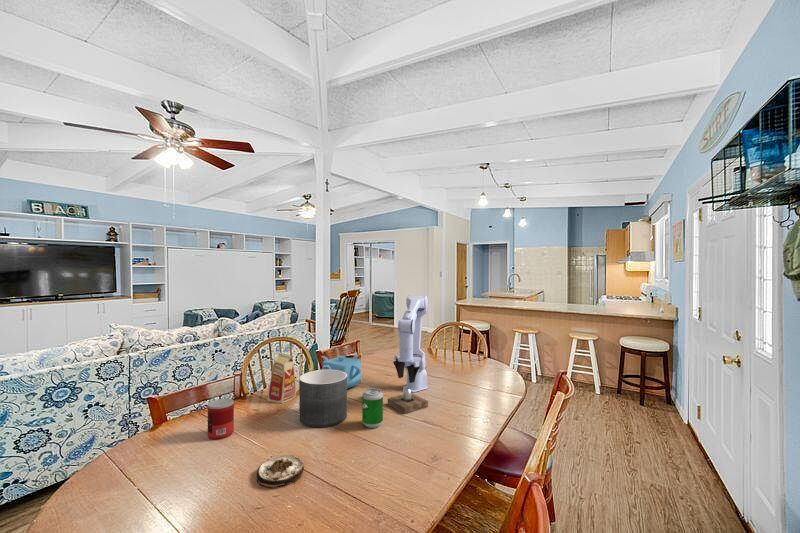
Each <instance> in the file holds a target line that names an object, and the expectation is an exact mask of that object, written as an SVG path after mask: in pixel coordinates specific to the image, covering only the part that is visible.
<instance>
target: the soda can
mask: <svg viewBox="0 0 800 533" xmlns="http://www.w3.org/2000/svg"><path fill="white" fill-rule="evenodd" d="M367 389H368V388H367ZM367 389H366V390H365V391H364V392H363V393H362V398H361V399H362V403H361V404H362V406H361V407H362V410H361V411H362V412H361V414H362V415H361V416H362V417H361V418H362V419H361V420H362V422H361V423H362V424H363V425H364V426H365V427H366V428H368V429H375V428H378V427H380V426H381V425H382V424H383V422H384V396H383V395H384V393H383V392H381V390H380V389H378V388H374V389H368V390H367Z"/></svg>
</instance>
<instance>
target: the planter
mask: <svg viewBox="0 0 800 533" xmlns="http://www.w3.org/2000/svg"><path fill="white" fill-rule="evenodd" d="M298 383H299V384H298V385H299V388H298V389H299V394H298V395H299V400H298V401H299V402H298V403H299V409H298V410H299V418H298V420H299V422H300V424H302V425H303V426H305V427H307V428H308V427H309V428H316V429H317V428H319V429H320V428H328V427H334V426H336V425H339V424H340V423H343V422H345V420H346V419H347V417H348V410H347V409H348V389H347V374H346V373H345V372H342V371H338V370H322V369H317V370H312V371H308V372H306V373H303V374H301V375H300V376H299V382H298Z"/></svg>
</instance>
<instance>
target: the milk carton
mask: <svg viewBox="0 0 800 533" xmlns="http://www.w3.org/2000/svg"><path fill="white" fill-rule="evenodd" d="M277 353H278V355H277V356H276V358H275V359H274V361H273V366H272V369H271V375H270V381H269V387H268V394H267V400H266V401H267V402H271V403H279V404H284V403H286V402H290V401H293V400H294V399H295V397H296V396H297V392H296V391H297V390H296V389H297V387H296V377H295V376H296V374H295V367H294V366H295V364H294V360H293V358H294V356H290V355H286V354H285V353H282V352H280V351H278V352H277Z"/></svg>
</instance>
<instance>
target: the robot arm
mask: <svg viewBox="0 0 800 533" xmlns="http://www.w3.org/2000/svg"><path fill="white" fill-rule="evenodd" d="M405 301H406V303H405V304H406V308H407V310H405V311H404V314H403V316H402V318H401V319H400V320H398V322H397V323H398V324H397V331H398V338H399V354H394V355H393V360H394V361H393V365H394V368H395V370H396V373H397V377H398V379H402V378H404V374H405V371H406V385H405V386H402V389H403V388H411V393H416V392H420V391H423V390H427V389H429V386H428V373H427V370H426V369H425V368H426V353H425V352H424V351H423V350H422V349H421V339H422V328H423V327H422V326H423V325H422V324H423V319H424V318H423V317H424V316H425V315H426V314H427V312H428V305H429V300H428V296H427V295H410V294H409V295H407V296H406V300H405Z"/></svg>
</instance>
